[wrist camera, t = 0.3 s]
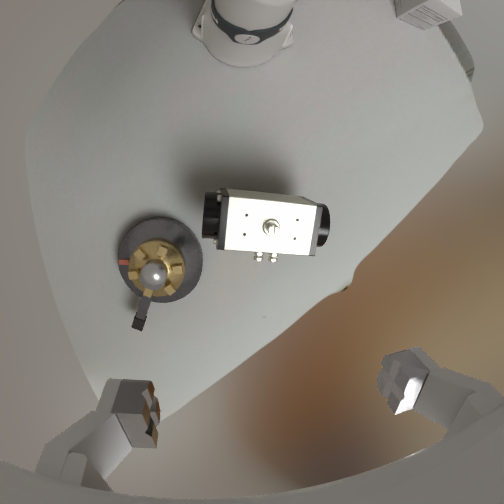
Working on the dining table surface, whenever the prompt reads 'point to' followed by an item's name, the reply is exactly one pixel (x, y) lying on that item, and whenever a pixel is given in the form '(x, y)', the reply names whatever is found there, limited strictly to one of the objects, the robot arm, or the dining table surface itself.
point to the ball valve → (264, 223)
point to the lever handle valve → (176, 270)
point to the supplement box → (427, 12)
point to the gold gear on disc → (156, 269)
